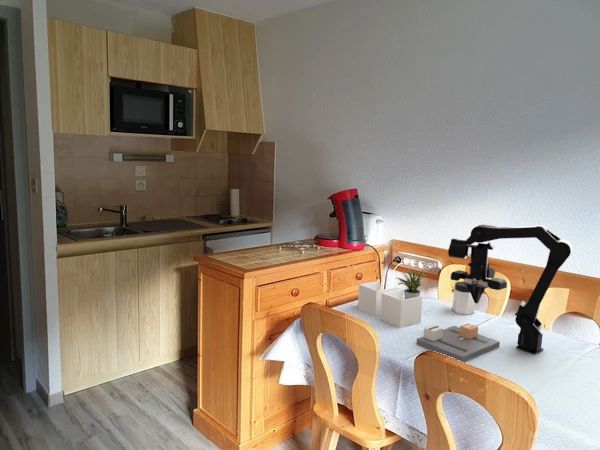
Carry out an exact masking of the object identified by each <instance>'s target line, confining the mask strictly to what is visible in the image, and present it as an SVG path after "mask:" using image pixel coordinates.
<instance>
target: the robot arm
mask: <svg viewBox="0 0 600 450" xmlns="http://www.w3.org/2000/svg"><path fill="white" fill-rule="evenodd" d="M531 238H532V239H534V238H535V239H537V240H538V241H539V242H540V243H541V244H543V246H544V247H545V248H546V249H548V250H549V253H548V257H547V261H546V264H545V268H544V269H543V271H542V273H541V275H540V277H539V279H538V281H537V283H536V285H535V287H534V289H533V291H532V292H531V294H530V297H529V299H528V300H527V301H526V302H525V301H524V300H521V302H520V304H519V305H518V309H517V310H516V312H515V313H514V316H515V320H514V321H515V323H516V324H517V326H518V327H519V328H520V329H519V333H518V335H517V343H516V344H517V345H516V346H515V348H516V349H518V350H521V351H524V352H527V353H530V354H533V355H535V354H538V353H540V352H542V351H543V350H544V348H543V347H542V343H543V334H544V333H543V332H541V330H542V328H543V323H542V322H541V321H540V319H538V314H539V311H540V310H539V309H540V307H541V303H542V301H543V299H544V297H545V295H546V294H547V291H548V290H549V287H550V286H551V284H552V281H553V279H554V278H555V276H556V274H557V272H558V270H559V269H560V268H561V267H562V266H563V265H564V263H565V262H566V261H567V259H568V258H569V257H570V255H571V254H572V252H573V246H572V243H571V242H570V241H568V240H567V239H563V238H560V236H558V235H556V234H555V233H553V232H552V231H550V230H549V229H548V228H547V227H546V226H544V225H542V224H538V225H528V226H526V225H523V226H522V225H521V226H501V227H500V226H496V225H488V224H479V225H476V226H475V227H473V228H472V229H471V232H470V236H469V237H468V238H466V240H465V239H457V238H452V239H450V243H449V247H448V257H449V258H455V259H465V260H466V259H467V257H470V260H469V261H470V262H468V263H467V265H468V267H469V272H468V271H465V270H461V269H459V270H455V271H452V272H451V273H450V280H452V281H455V282H459V280H465V282H466V283H464V285H466V286H467V287H468V289H469V291H470V293H471V295H472V298H473V300H474V303H475V304H479V302H480V300H481V298H482V295H483V293H484V292H485V290H486V289H487V288H488V289H491V290H495V291H501V290H504V289H507V285H508V282H507V280H506V279H504V278H497V277H495V276H496V275H495V274H496V273H497V272H496V271H497V270H496V269H494V268H493V267H491V265H490V263H488V262H489V261H488V260H489V250H490V251H492V250H494V249H495V248H496V246H494V245H493V243H492V242H491V241H495V240H499V239H501V240H502V239H503V240H504V239H531ZM486 242H487V243H486ZM475 243H477V244H475ZM489 278H491V279H489Z"/></svg>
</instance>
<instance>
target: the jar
mask: <svg viewBox="0 0 600 450" xmlns="http://www.w3.org/2000/svg"><path fill="white" fill-rule="evenodd" d="M464 283H466V281H455V282H454V288H453V296H452V309H451V310H453V311H454V313H455V314H460V315H464V316H465V315H466V316H469V315H472V314H475V311H476V303H474V300H473V298H472V295H471V293H470V291H469V289H468V287H467V286H466V285H464Z"/></svg>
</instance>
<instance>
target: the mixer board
mask: <svg viewBox="0 0 600 450" xmlns="http://www.w3.org/2000/svg"><path fill="white" fill-rule="evenodd" d="M459 333H460V327H459V326H457V325H453V326H449V327H447V328H444V329H443V332H442V338H441V339H438V340H435V341H431V340H429V339H426V338H424V335H422V336H420V337H419V338H418V337H417V338H416V345H417V346H419V347H422V348H423V349H427V350H429V351H432V352H434V351H436V352H439V353H442V354H445V355H447V356H450V357H453V358H455V359H457V360H460V361H462V362H464V363H466V362H469V361H471V360H473V359H475V358H477V357H479V356H482V355H485V354H486V353H489V352H491V351H493V350H495V349H498V348H500V344H501V342H500V341H499V340H496V339H493V338H492V337H491V338H490V337H487V336H485V335H482V334H479V333H478V336H477V337H474V338H472V339H467V338H464V337H462V336H459ZM436 352H435V353H436ZM439 353H438V354H439Z"/></svg>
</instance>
